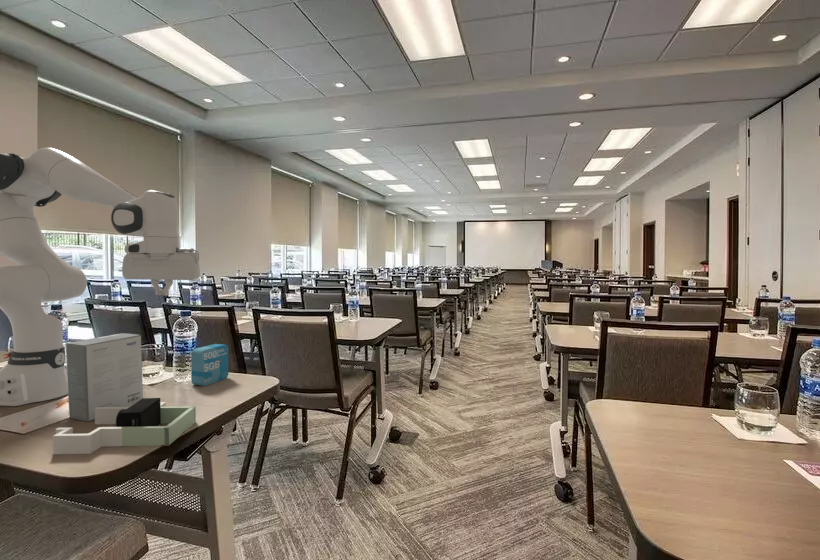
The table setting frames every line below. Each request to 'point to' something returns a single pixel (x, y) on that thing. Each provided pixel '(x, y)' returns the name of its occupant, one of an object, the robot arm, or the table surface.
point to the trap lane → (125, 431)
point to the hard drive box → (103, 374)
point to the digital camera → (140, 414)
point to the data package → (209, 364)
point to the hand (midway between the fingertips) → (162, 295)
